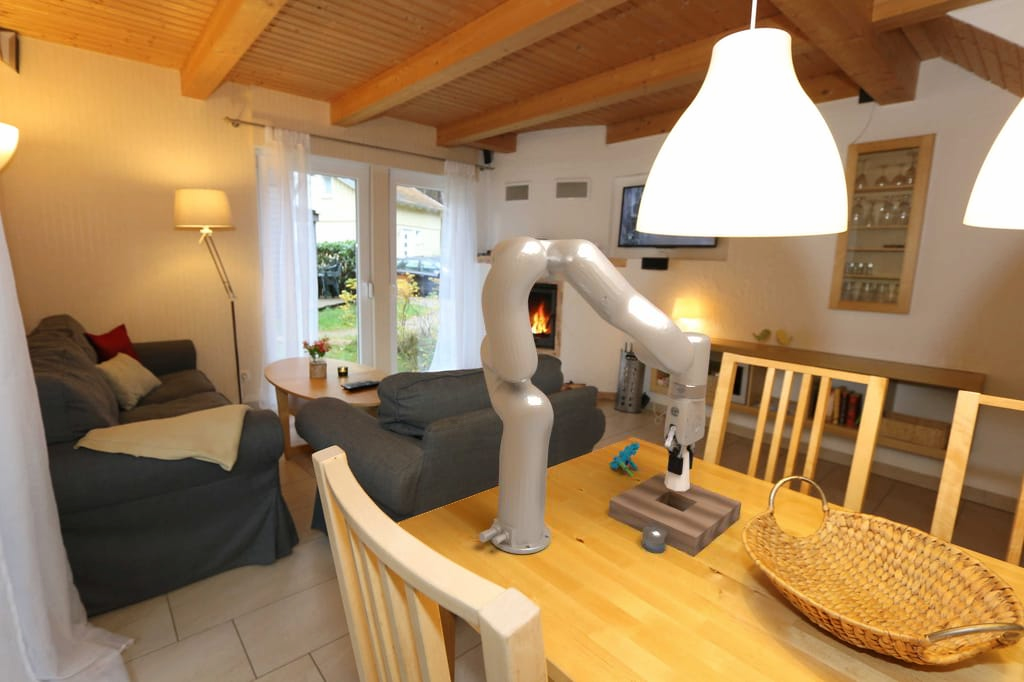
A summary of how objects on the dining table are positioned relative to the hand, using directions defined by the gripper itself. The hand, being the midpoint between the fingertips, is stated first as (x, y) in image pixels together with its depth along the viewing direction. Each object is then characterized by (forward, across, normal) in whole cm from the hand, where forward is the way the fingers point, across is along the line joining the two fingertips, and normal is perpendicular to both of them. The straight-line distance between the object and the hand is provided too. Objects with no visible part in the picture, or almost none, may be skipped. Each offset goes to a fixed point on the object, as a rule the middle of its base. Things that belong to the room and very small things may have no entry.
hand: (679, 469), depth 110 cm
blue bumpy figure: (+12, +13, +22) cm, 28 cm away
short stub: (+11, -14, -3) cm, 18 cm away
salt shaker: (+4, 0, 0) cm, 4 cm away
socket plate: (+11, 0, 0) cm, 11 cm away
